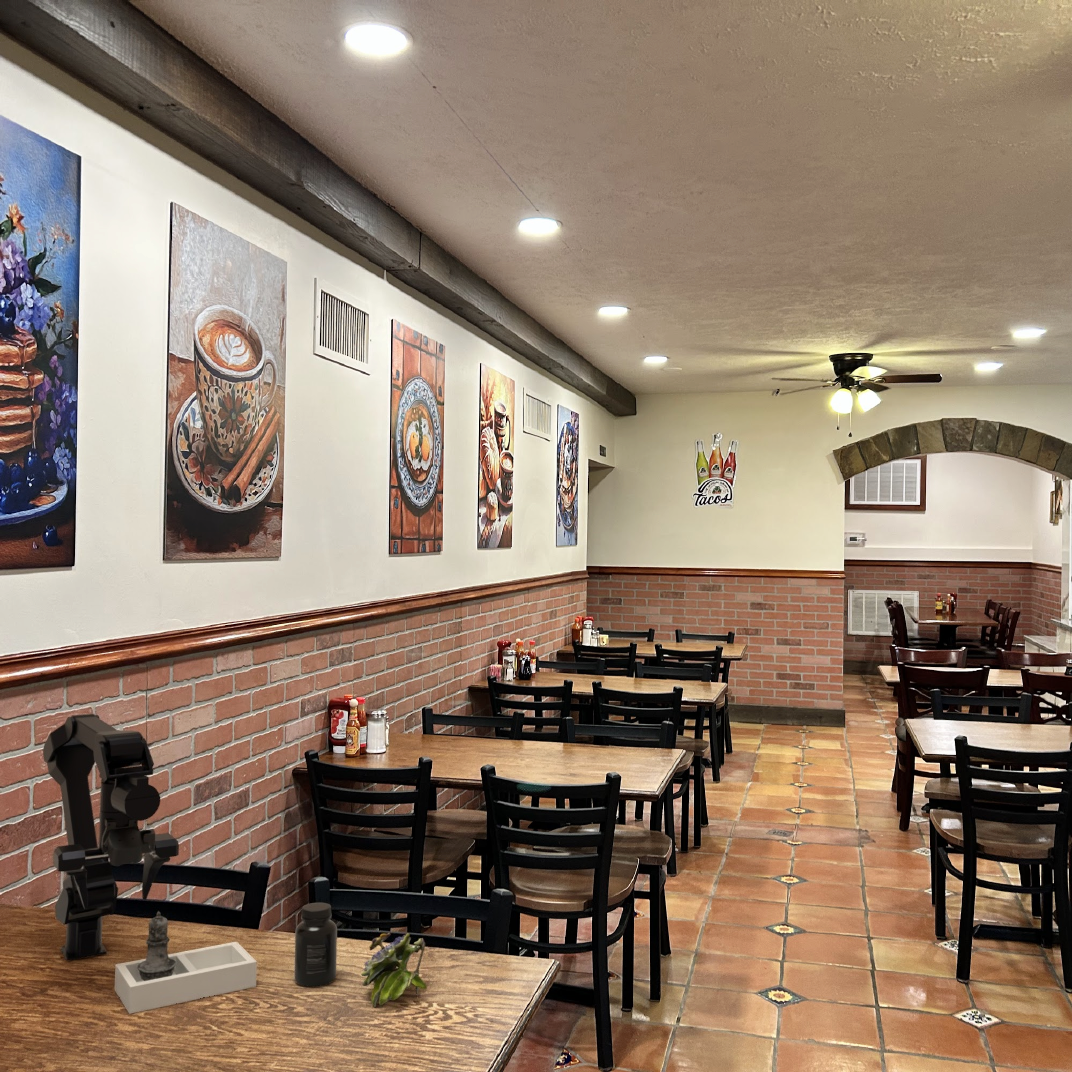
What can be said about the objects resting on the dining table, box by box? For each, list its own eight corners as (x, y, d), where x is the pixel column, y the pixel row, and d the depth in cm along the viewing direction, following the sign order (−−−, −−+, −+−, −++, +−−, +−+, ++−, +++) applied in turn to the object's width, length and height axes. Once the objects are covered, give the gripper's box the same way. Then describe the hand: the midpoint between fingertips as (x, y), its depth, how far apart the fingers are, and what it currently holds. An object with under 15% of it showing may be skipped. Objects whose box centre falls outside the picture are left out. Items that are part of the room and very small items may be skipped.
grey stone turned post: (128, 990, 161) (130, 913, 161) (157, 977, 166) (159, 903, 166) (155, 998, 158) (157, 919, 159) (183, 984, 163) (186, 908, 164)
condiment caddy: (114, 989, 163) (115, 964, 163) (235, 965, 174) (236, 941, 174) (129, 1013, 155) (130, 987, 155) (256, 986, 166) (256, 961, 166)
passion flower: (377, 1021, 166) (388, 945, 173) (437, 1019, 163) (446, 942, 170) (343, 1003, 158) (356, 924, 165) (406, 1001, 154) (416, 920, 162)
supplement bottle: (343, 975, 171) (345, 903, 171) (322, 990, 165) (324, 915, 165) (308, 969, 173) (310, 898, 174) (285, 984, 167) (287, 910, 167)
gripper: (66, 826, 157) (62, 928, 157) (189, 812, 168) (186, 908, 167) (54, 811, 166) (50, 908, 166) (171, 799, 177) (168, 889, 176)
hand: (115, 903), depth 169 cm, fingers open, 9 cm apart
